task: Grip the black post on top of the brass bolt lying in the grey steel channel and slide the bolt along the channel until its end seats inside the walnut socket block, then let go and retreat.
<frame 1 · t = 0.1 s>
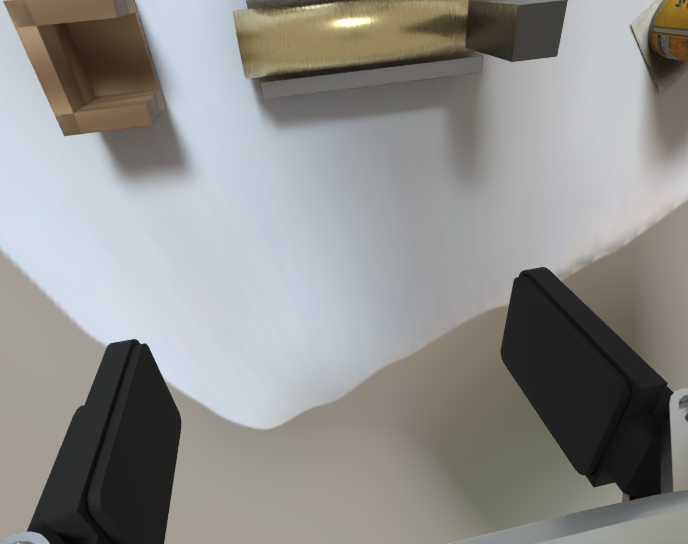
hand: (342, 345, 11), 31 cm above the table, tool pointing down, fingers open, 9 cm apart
channel: (364, 27, 35), on the table
socket: (109, 55, 33), on the table
bolt: (385, 36, 30), point 7 cm above the table, slide at 0.0 cm
condiment: (677, 29, 40), on the table
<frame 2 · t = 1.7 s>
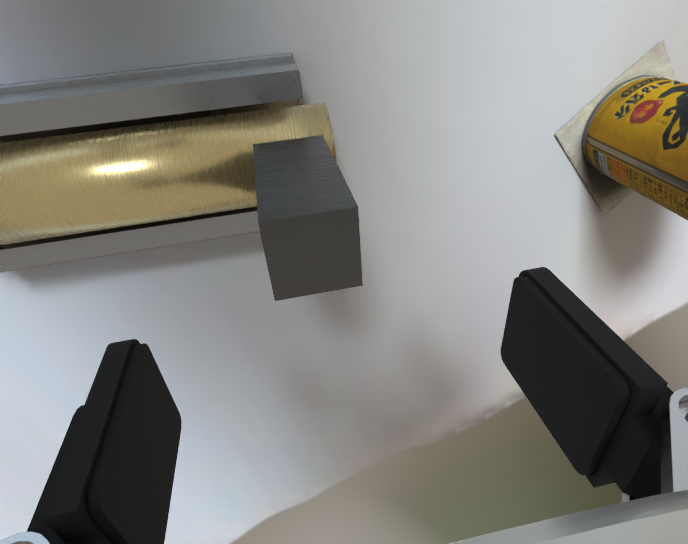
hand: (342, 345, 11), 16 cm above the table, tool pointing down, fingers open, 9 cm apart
channel: (132, 155, 23), on the table
bolt: (99, 213, 17), point 7 cm above the table, slide at 0.0 cm
condiment: (625, 135, 28), on the table
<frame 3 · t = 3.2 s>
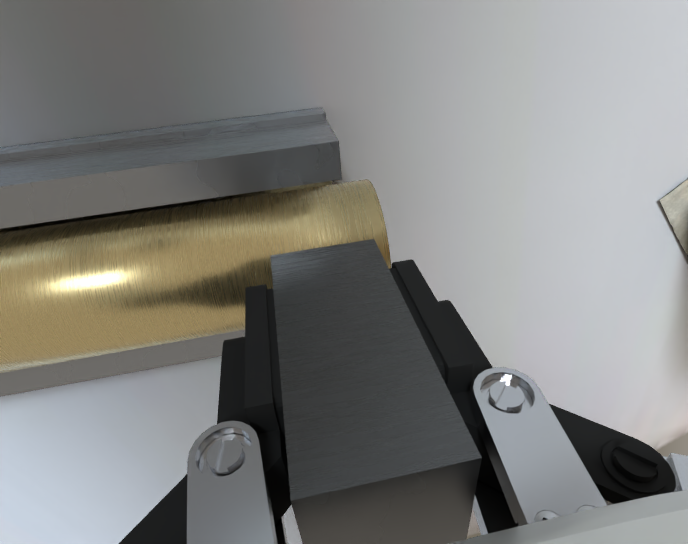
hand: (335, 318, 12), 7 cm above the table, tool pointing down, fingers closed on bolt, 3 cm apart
channel: (102, 243, 17), on the table
bolt: (32, 369, 11), point 7 cm above the table, slide at 0.0 cm, touching gripper
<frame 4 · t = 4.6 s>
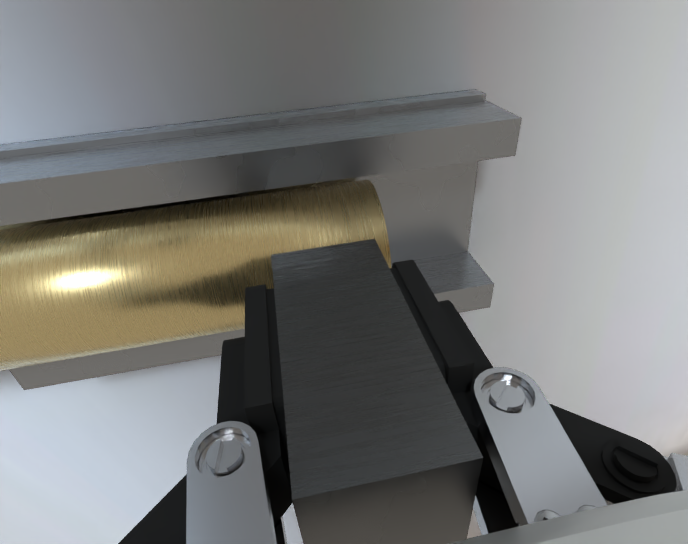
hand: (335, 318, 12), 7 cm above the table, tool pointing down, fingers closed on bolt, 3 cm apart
channel: (252, 220, 17), on the table
bolt: (32, 367, 11), point 7 cm above the table, slide at 5.7 cm, touching gripper
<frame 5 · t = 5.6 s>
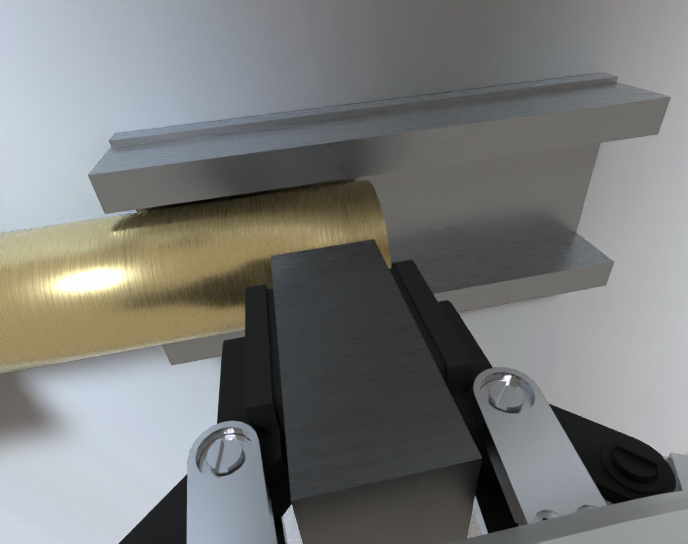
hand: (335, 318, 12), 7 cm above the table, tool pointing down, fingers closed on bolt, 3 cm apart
channel: (377, 202, 18), on the table
bolt: (33, 370, 11), point 7 cm above the table, slide at 10.9 cm, touching gripper
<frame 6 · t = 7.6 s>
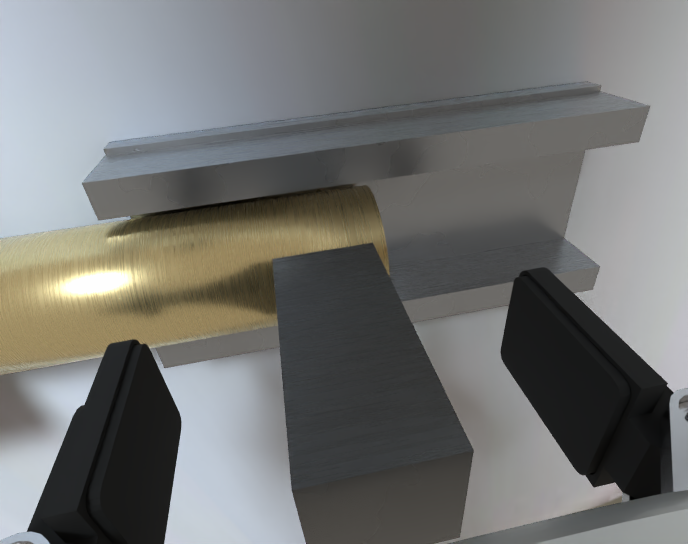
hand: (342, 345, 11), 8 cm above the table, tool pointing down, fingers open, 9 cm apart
channel: (368, 208, 18), on the table
bolt: (42, 369, 12), point 7 cm above the table, slide at 10.5 cm
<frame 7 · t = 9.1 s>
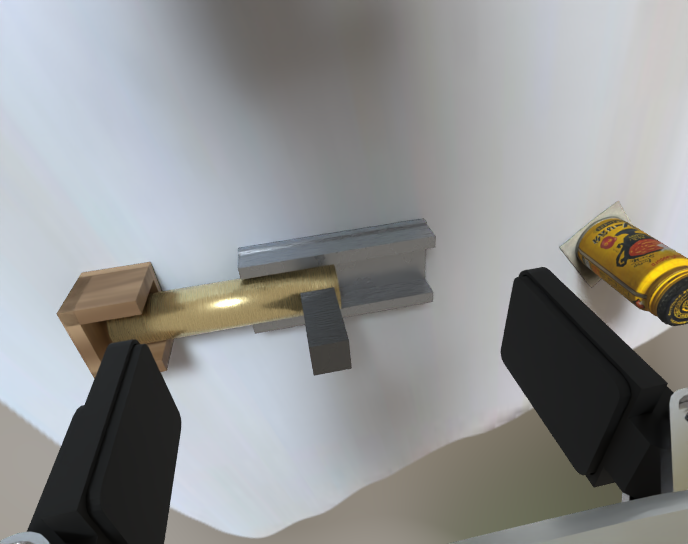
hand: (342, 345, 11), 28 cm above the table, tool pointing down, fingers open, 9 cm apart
channel: (336, 267, 43), on the table
socket: (131, 302, 41), on the table
bolt: (228, 328, 37), point 7 cm above the table, slide at 10.5 cm
condiment: (601, 244, 48), on the table
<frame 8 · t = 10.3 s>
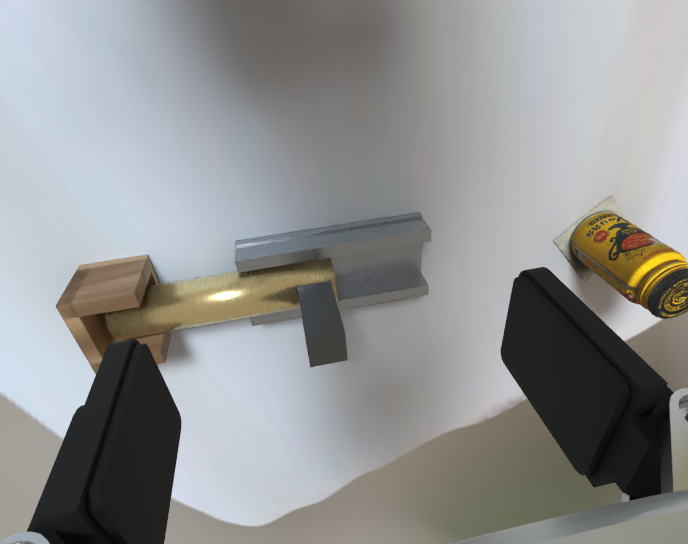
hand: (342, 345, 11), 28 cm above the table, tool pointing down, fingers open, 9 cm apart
channel: (333, 260, 44), on the table
socket: (129, 294, 41), on the table
bolt: (226, 321, 37), point 7 cm above the table, slide at 10.5 cm
condiment: (594, 238, 49), on the table
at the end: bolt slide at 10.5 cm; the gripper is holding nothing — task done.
